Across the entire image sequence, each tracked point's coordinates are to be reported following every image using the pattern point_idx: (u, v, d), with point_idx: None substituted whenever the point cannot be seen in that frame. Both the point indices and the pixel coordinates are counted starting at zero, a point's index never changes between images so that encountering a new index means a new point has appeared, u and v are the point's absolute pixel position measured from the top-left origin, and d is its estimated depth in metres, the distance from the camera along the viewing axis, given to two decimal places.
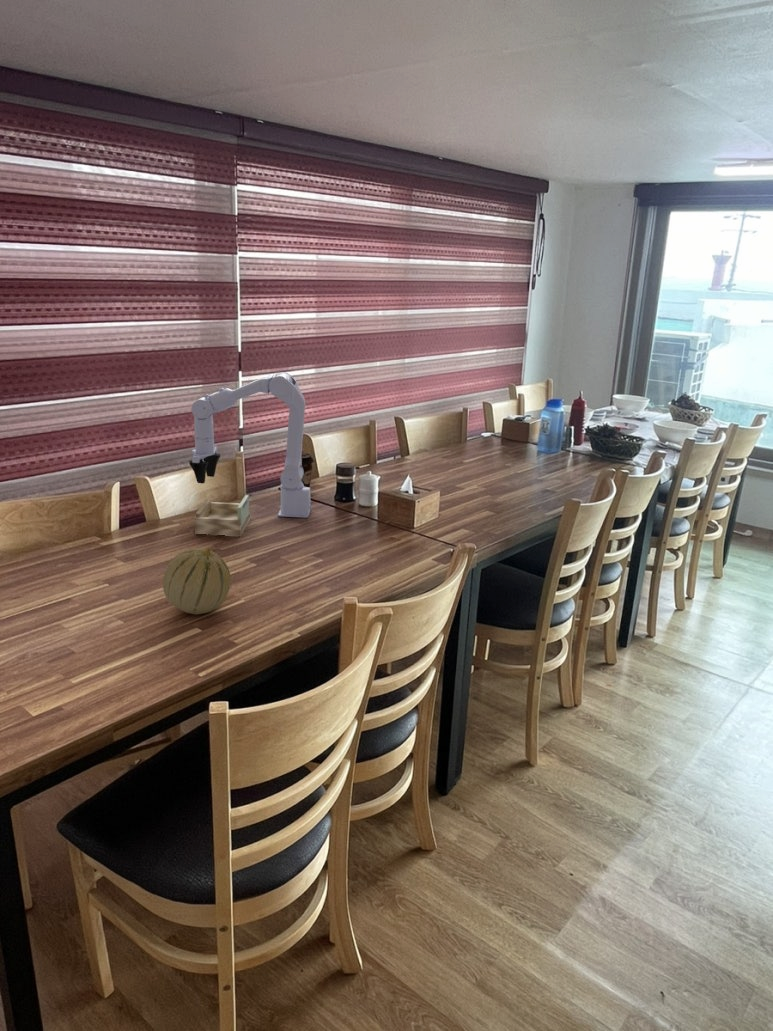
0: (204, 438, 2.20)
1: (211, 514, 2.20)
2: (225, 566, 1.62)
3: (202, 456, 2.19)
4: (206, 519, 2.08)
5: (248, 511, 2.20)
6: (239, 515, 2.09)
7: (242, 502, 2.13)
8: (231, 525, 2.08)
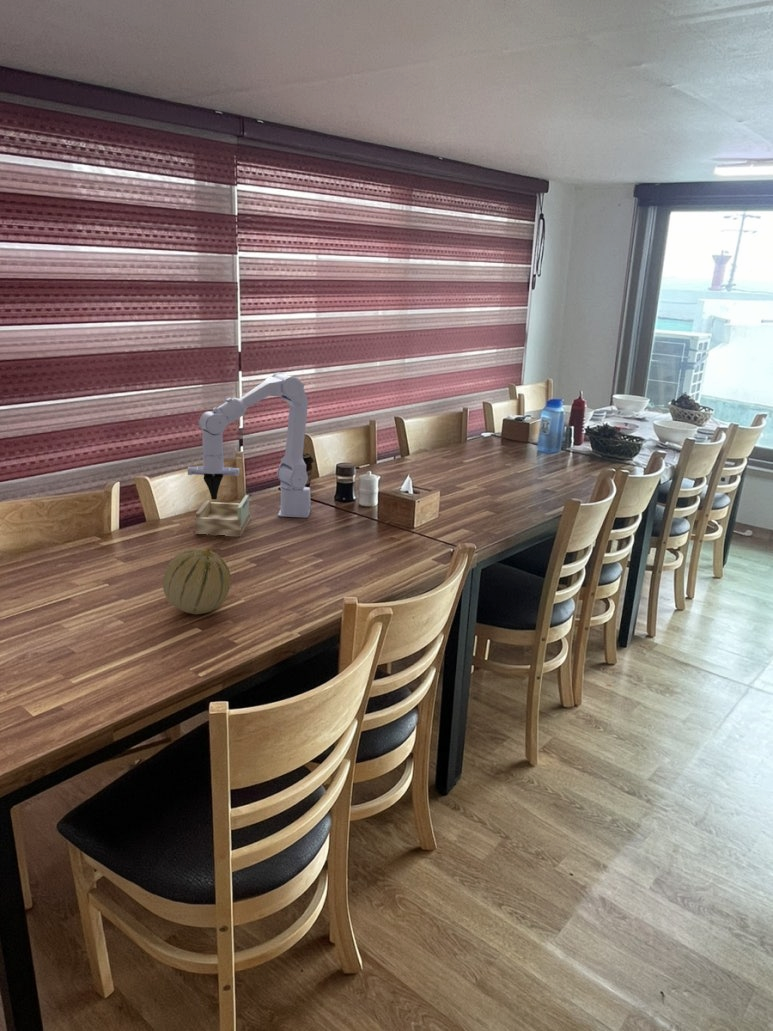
0: (219, 454, 2.07)
1: (211, 514, 2.20)
2: (225, 566, 1.62)
3: (195, 470, 2.09)
4: (206, 519, 2.08)
5: (248, 511, 2.20)
6: (239, 515, 2.09)
7: (242, 502, 2.13)
8: (231, 525, 2.08)
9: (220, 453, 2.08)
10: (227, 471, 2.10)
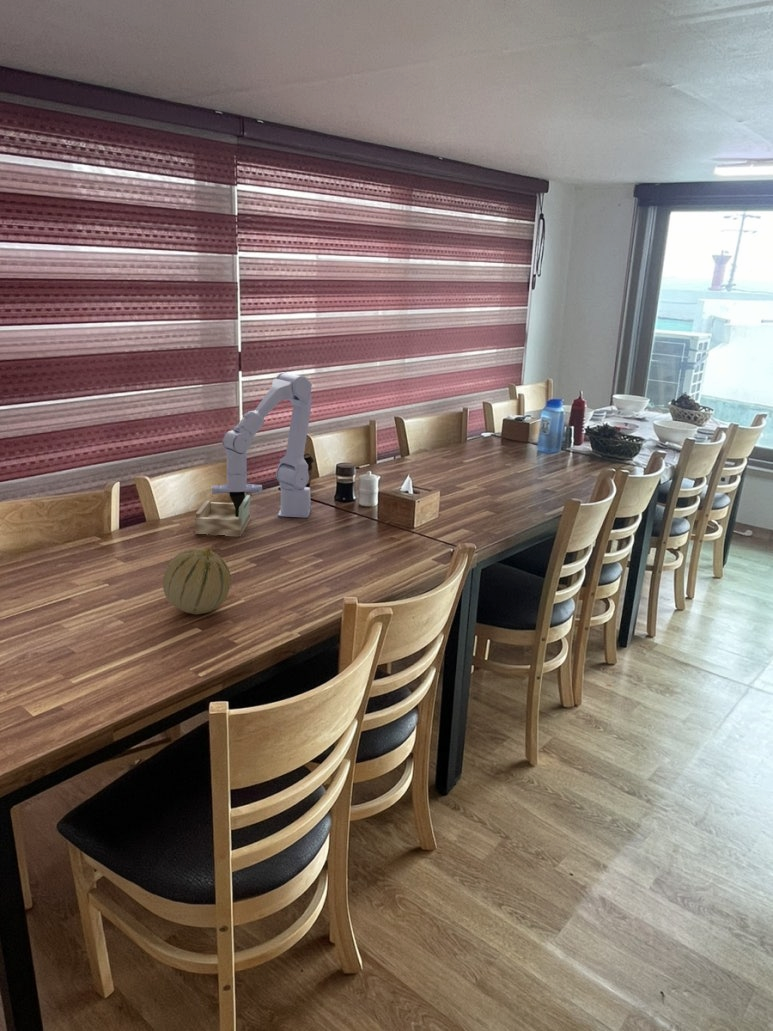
0: (244, 472, 2.10)
1: (211, 514, 2.20)
2: (225, 566, 1.62)
3: (219, 489, 2.10)
4: (206, 519, 2.08)
5: (248, 511, 2.20)
6: (240, 515, 2.09)
7: (244, 502, 2.13)
8: (231, 525, 2.08)
9: (245, 471, 2.10)
10: (252, 488, 2.12)
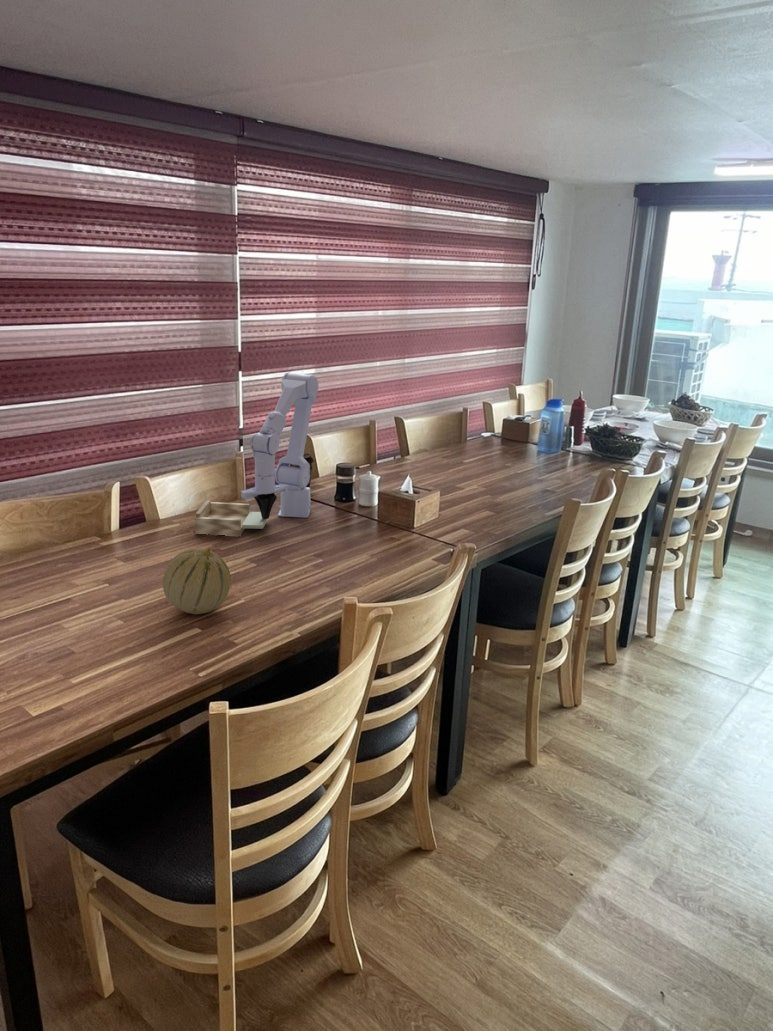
0: (274, 473, 2.11)
1: (211, 514, 2.20)
2: (225, 566, 1.62)
3: (251, 493, 2.09)
4: (206, 519, 2.08)
5: None
6: (254, 527, 2.10)
7: (265, 521, 2.15)
8: (231, 525, 2.08)
9: (274, 472, 2.11)
10: (280, 488, 2.14)
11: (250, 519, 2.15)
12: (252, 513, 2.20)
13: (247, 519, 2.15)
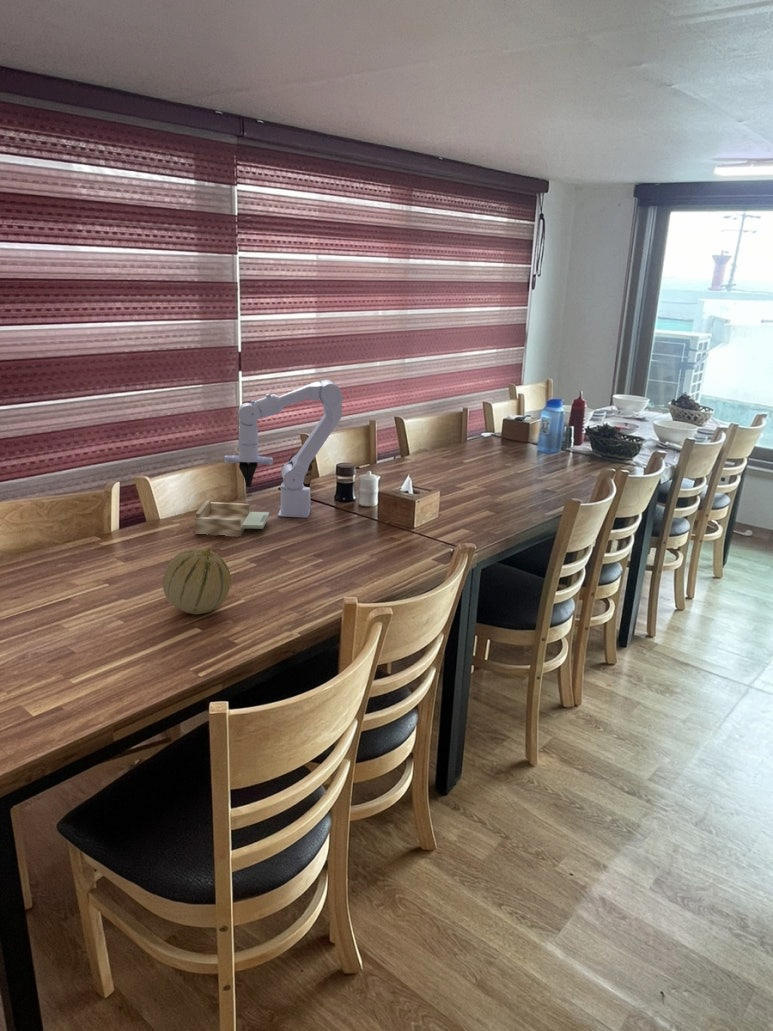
0: (251, 444, 2.18)
1: (211, 514, 2.20)
2: (225, 566, 1.62)
3: (231, 458, 2.20)
4: (206, 519, 2.08)
5: None
6: (254, 527, 2.10)
7: (265, 521, 2.15)
8: (231, 525, 2.08)
9: (253, 443, 2.18)
10: (261, 460, 2.20)
11: (250, 519, 2.15)
12: (252, 513, 2.20)
13: (247, 519, 2.15)
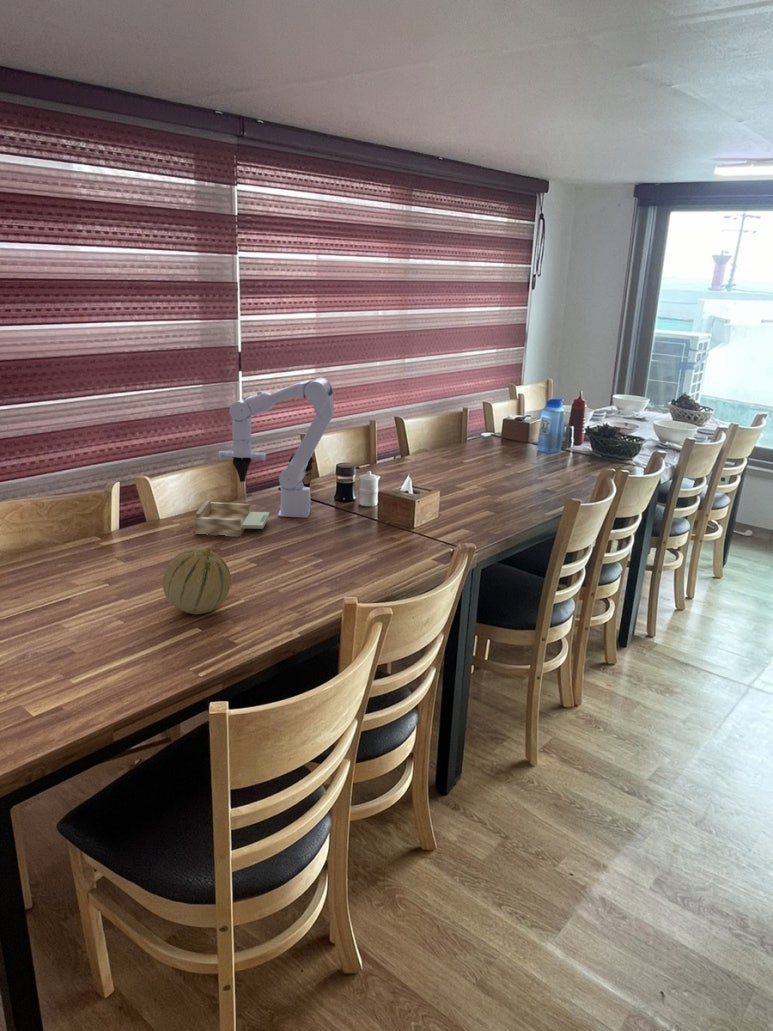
0: (241, 440, 2.22)
1: (211, 514, 2.20)
2: (225, 566, 1.62)
3: (225, 454, 2.25)
4: (206, 519, 2.08)
5: None
6: (254, 527, 2.10)
7: (265, 521, 2.15)
8: (231, 525, 2.08)
9: (243, 439, 2.22)
10: (254, 455, 2.25)
11: (250, 519, 2.15)
12: (252, 513, 2.20)
13: (247, 519, 2.15)
